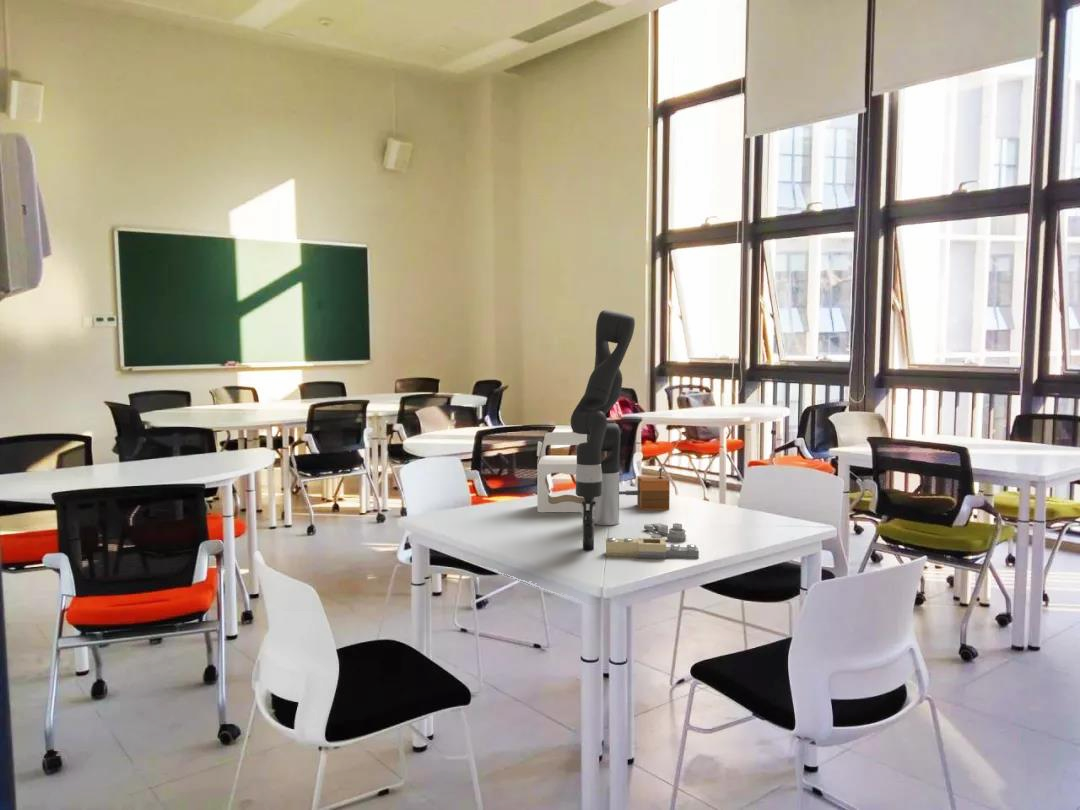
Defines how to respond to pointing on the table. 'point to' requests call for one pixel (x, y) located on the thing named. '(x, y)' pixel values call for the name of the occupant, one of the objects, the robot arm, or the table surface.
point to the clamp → (652, 492)
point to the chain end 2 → (672, 552)
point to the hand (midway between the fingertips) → (588, 534)
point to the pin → (588, 543)
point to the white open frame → (557, 466)
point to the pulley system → (674, 533)
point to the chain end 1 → (634, 546)
